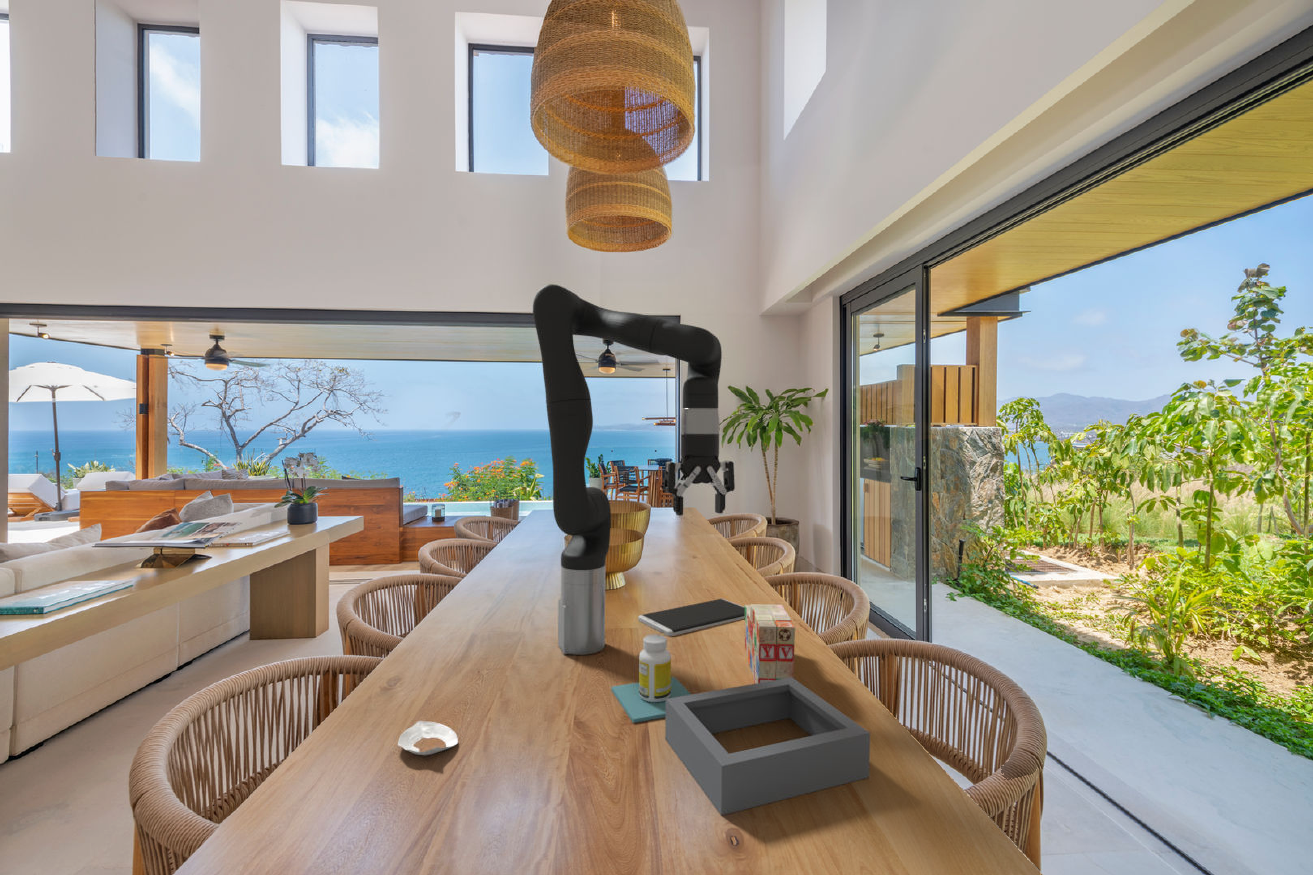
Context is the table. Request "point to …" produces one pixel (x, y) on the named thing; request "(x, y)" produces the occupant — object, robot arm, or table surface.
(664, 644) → the supplement bottle
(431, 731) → the white seashell fragment
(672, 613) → the smartphone
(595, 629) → the robot arm
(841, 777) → the box
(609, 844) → the table surface
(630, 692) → the mat
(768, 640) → the stack of blocks
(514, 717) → the table surface
